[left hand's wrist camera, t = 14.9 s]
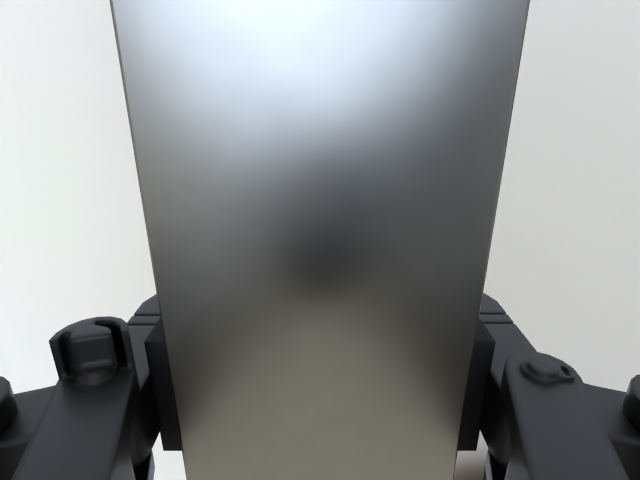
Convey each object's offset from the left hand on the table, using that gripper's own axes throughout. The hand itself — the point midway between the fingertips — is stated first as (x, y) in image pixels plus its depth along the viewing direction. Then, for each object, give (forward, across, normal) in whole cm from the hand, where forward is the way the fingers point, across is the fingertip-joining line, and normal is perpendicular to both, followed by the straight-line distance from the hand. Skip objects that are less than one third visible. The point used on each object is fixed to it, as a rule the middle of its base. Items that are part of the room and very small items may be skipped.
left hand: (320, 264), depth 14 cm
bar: (+1, 0, -13) cm, 13 cm away
